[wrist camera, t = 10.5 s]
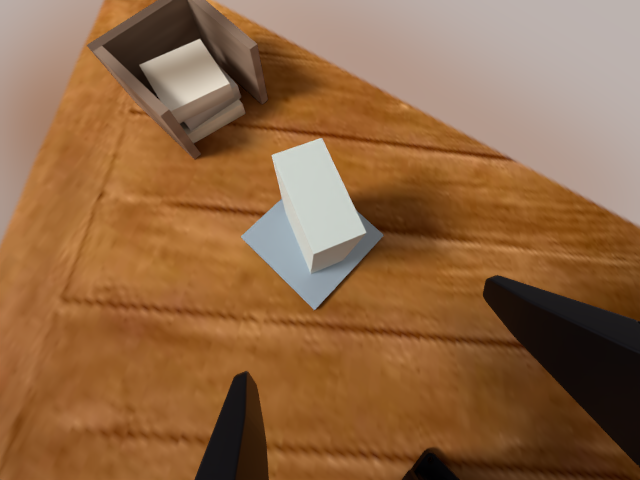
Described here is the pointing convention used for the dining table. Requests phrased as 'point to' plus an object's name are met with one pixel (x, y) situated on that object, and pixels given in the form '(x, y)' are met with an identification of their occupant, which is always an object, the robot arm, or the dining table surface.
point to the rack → (167, 35)
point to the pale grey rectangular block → (317, 204)
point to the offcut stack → (194, 89)
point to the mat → (288, 261)
